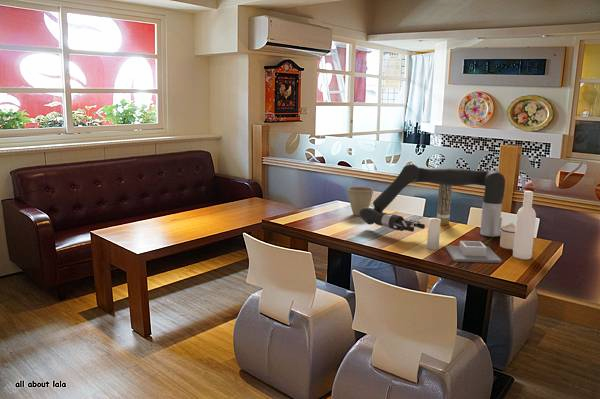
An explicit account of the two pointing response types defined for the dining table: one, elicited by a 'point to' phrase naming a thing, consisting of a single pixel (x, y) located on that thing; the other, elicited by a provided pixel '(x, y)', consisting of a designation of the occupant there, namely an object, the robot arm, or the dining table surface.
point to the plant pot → (359, 198)
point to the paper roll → (433, 233)
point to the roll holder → (472, 252)
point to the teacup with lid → (507, 236)
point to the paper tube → (444, 203)
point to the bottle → (524, 228)
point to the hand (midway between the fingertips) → (419, 228)
